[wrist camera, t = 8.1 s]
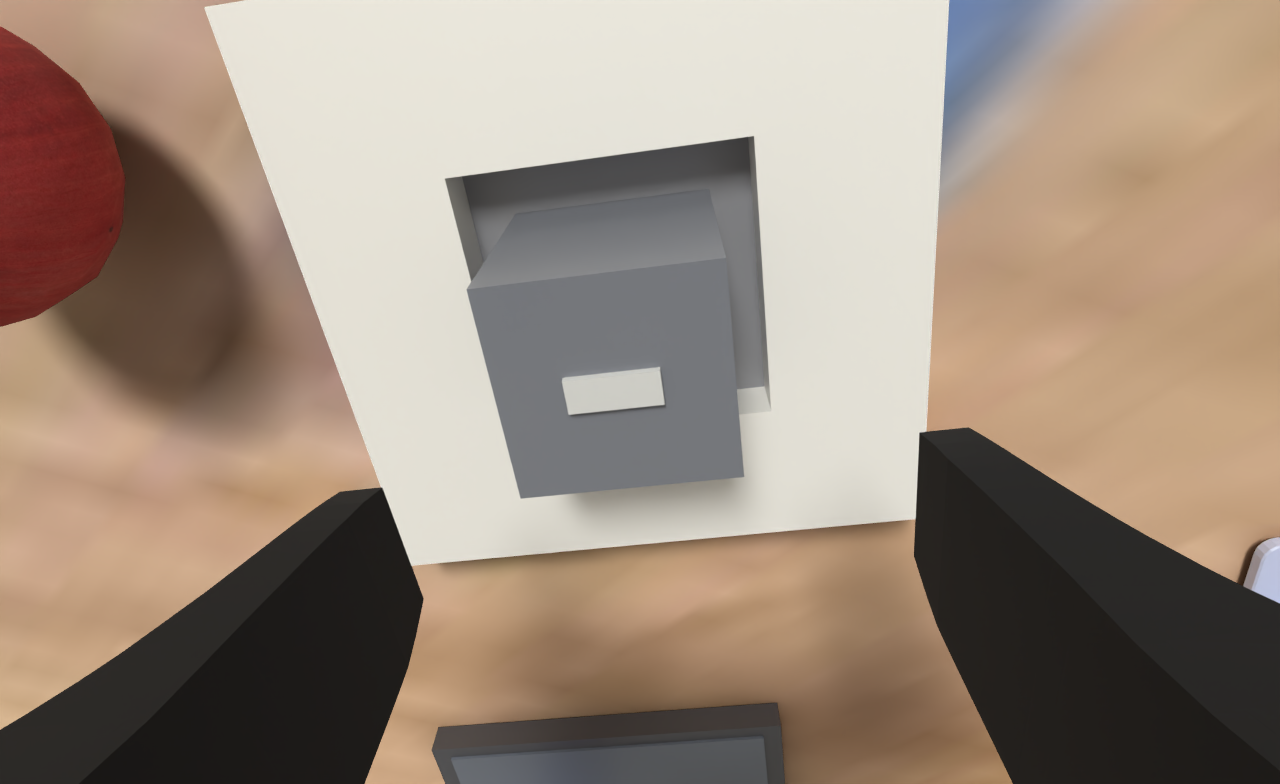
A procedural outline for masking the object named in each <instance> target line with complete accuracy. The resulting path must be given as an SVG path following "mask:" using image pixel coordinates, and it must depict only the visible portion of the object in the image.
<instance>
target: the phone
mask: <svg viewBox="0 0 1280 784" xmlns="http://www.w3.org/2000/svg"><path fill="white" fill-rule="evenodd" d="M432 752H433V755H434V757H435V760H436V762H437V764H438V767H439V769H440V772H441V774H442V776H443V779H444V781H445V784H785V778H784V764H783V750H782V735H781V724H780V718H779V712H778V706H777V703H768V704H754V705H740V706H726V707H713V708H699V709H685V710H671V711H658V712H644V713H630V714H616V715H603V716H589V717H575V718H561V719H548V720H534V721H520V722H506V723H493V724H479V725H465V726H451V727H438V731H437V734H436V737H435V741H434V744H433V747H432Z"/></svg>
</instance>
